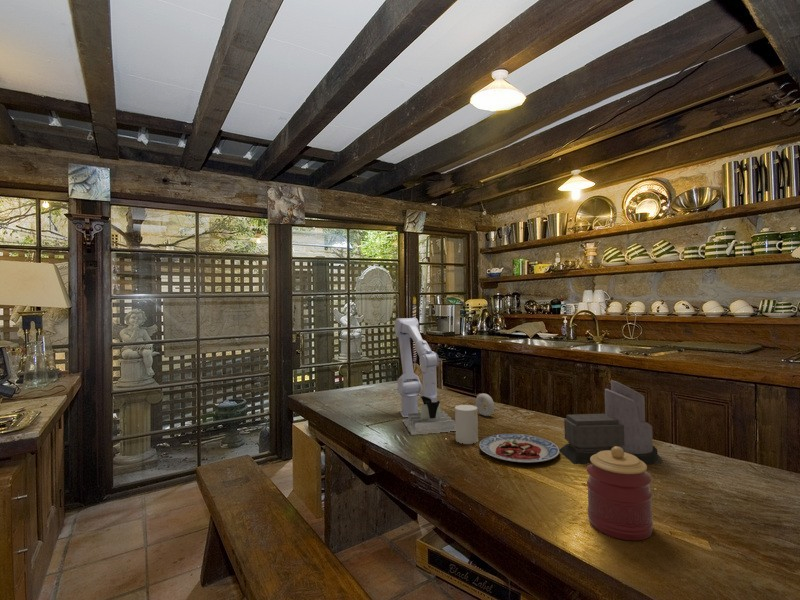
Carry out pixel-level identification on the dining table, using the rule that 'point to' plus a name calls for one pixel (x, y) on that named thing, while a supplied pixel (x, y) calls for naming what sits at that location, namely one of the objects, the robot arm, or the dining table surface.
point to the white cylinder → (466, 424)
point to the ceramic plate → (519, 448)
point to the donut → (489, 403)
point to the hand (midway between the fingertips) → (430, 415)
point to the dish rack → (429, 424)
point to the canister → (619, 495)
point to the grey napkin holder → (611, 428)
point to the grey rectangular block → (426, 413)
